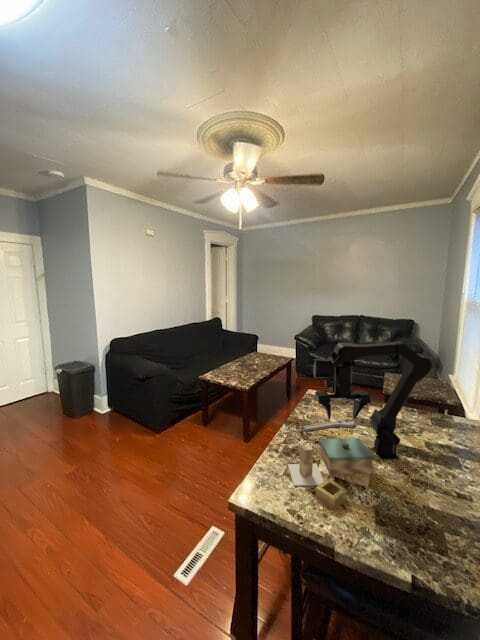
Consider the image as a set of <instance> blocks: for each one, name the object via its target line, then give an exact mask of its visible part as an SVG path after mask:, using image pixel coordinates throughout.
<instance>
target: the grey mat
mask: <svg viewBox="0 0 480 640" xmlns="http://www.w3.org/2000/svg"><path fill="white" fill-rule="evenodd" d="M287 467H288V471H289V474H290V479H291V481H292V486H293V487H311V486H312V487H317V486H319V485H320V484H321V483H323V482H324V481H325V479H324V477H323V475H322V473H321V471H320V468H319V467H318V465H317V463H316V462H314V463H313V465H312V476H309V477H305V478H304V477H303V476H302V474H301V473H300V472H299V467H300V463H288V464H287Z"/></svg>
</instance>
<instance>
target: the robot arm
mask: <svg viewBox="0 0 480 640" xmlns="http://www.w3.org/2000/svg"><path fill="white" fill-rule="evenodd" d="M393 355H398V357H400V358H401V359H403V360H404V362H403V365H402V375H401V377H400V378H399V380H398V381H397V384H396V385H395V387H394V389H393V390H392V392H391V394H390V396H389V398H388V399H387V400H386V403H385V405H384V406H383V407H382V408H381V409H380V410H377V409H374V410H373V413H372V415H371V416H370V417H369V419H370V420H369V424H370V426H371V428H372V429H373V430H374V432H375V434H376V435H375V439H374V445H373V447H372V450H373V451H374V452H375V453H376V454H377V456H378V457H379V458H380V459H382V460H395V459H396V460H397V459H398V460H399V459H400V456H399V455H398V454H397V448H398V446H399V444H400V443H401V439H400V437H399V436H398V435H397V433H395V429H396V427H397V417H398V415H399V413H400V411H402V408H403V406H404V404H405V403H406V401H407V400H408V398H409V397H410V394H411V393H412V391H413V390H414V387H415V386H416V384H417V383H418V382H420V381H421V380H423V379H424V378H426V377H427V375H429V373H430V372H431V371H432V370H433V369H432V368H433V364H432V361H431V359H429V358H427V357H425V356H423V355H421V354H419V353H416V351H414V350H412V349H411V348H410V347H409V346H408V345H407V344H406V343H403V342H402V341H399V340H395V341H389V342H376V343H366V344H365V343H363V344H359V343H352V342H343V341H342V342H338V343H337V344H336V345H335V347H334V350H333V352H331V354H330V355H329V356H328V359H326V358H325V359H323V358H322V359H321V358H315V359H314V363H313V366H312V371H313V378H314V379H324V388H329V391H331V392H332V393H328V392H327V390H316V391H315V392H314V399H315V400H316V402H317V404H319V405H321V406H322V407H324V410H325V414H326V416H327V419H328V420H331V418H332V417H331V412H332V404H331V400H352V402H353V407H352V419H353V420H356V419H357V416H359V414H360V413H361V411H362V410H363V408H365V406H368V404H371V403H372V396H371V395H370V394H369V393H368V392H367V391H365V390H364V389H355V390H354V391H353V393H352V387H354V383H353V380H352V379H353V378H352V377H353V368H359V365H358V364H357V362H355V361H357V360H359V359H362V358H367V357H378V356H379V357H380V356H393ZM333 377H334V378H333ZM331 378H333V380H332V379H331Z"/></svg>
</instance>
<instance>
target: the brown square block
mask: <svg viewBox="0 0 480 640" xmlns="http://www.w3.org/2000/svg"><path fill="white" fill-rule="evenodd" d="M313 457H314V449H313V448H312V446H311V445H310V444H309V443H305V444H300V445H299V464H300V467H299V472H300V473H301V474H302V476H303V477H304V478H305V477H309V476H312V465H313V464H314V463H313V459H314V458H313Z"/></svg>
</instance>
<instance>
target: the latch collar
mask: <svg viewBox="0 0 480 640" xmlns="http://www.w3.org/2000/svg"><path fill="white" fill-rule="evenodd" d="M347 496H348V490H347V488H344V487H343V486H342V485H340V484H338V483H337V482H335V481H334V480H332V479H331V478H326V479H324V482H323V483H321V484H320V485H319V486H315V498H317V500H320V501H321V502H323V503H324V504H325V505H327V506H328V507H329V508H331V509H332V510H334V511H335V510H336V509H337V508H338V507H339V506H340V505H342V503H344V502H345V501H346V500H347Z"/></svg>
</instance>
